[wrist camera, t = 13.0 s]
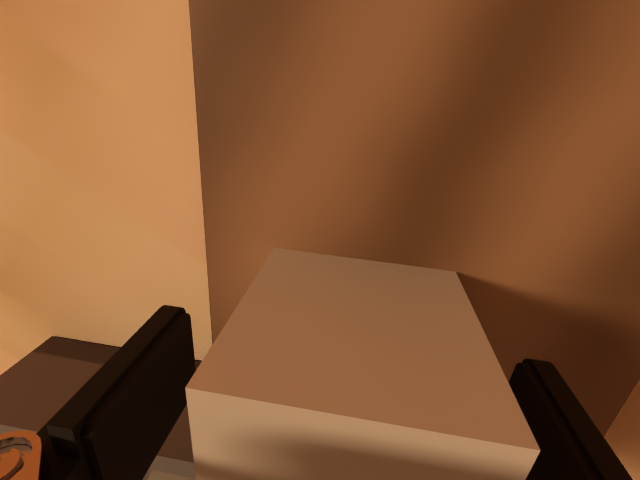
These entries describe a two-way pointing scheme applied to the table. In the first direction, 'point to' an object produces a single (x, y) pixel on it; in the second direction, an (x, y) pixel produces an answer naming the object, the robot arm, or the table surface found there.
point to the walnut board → (437, 160)
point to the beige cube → (354, 380)
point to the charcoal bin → (62, 384)
